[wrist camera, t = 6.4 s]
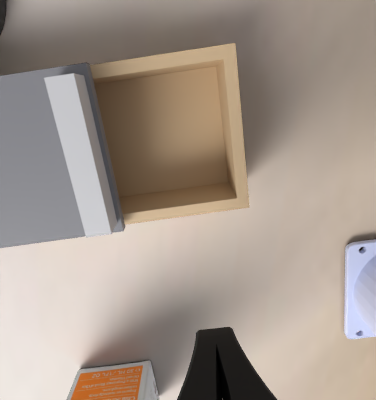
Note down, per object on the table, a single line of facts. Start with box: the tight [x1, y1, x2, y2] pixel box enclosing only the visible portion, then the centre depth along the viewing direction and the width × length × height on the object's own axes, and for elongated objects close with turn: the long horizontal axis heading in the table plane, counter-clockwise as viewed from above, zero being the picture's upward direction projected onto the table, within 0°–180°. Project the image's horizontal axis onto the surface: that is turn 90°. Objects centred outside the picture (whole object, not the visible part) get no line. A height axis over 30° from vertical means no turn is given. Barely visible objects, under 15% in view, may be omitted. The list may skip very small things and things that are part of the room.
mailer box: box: [90, 43, 249, 224], centre depth 18 cm, size 14×8×4 cm, turn 98°
